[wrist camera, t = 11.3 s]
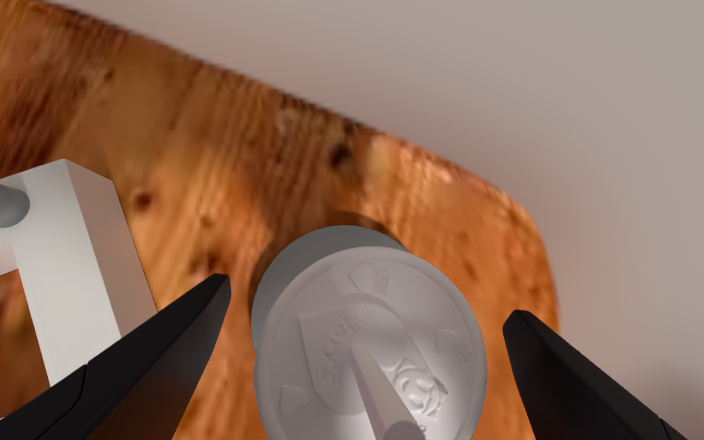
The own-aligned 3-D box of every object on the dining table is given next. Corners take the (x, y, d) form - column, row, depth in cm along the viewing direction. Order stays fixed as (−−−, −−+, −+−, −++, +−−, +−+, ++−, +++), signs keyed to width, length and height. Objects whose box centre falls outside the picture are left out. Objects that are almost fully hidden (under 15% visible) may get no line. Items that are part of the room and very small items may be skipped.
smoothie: (328, 244, 18) (349, 121, 4) (417, 297, 18) (743, 357, 4) (269, 339, 16) (-7, 646, 3) (365, 399, 16) (603, 1049, 2)
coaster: (459, 291, 19) (467, 291, 18) (368, 452, 16) (370, 463, 15) (325, 196, 19) (325, 191, 18) (215, 339, 17) (209, 343, 16)
